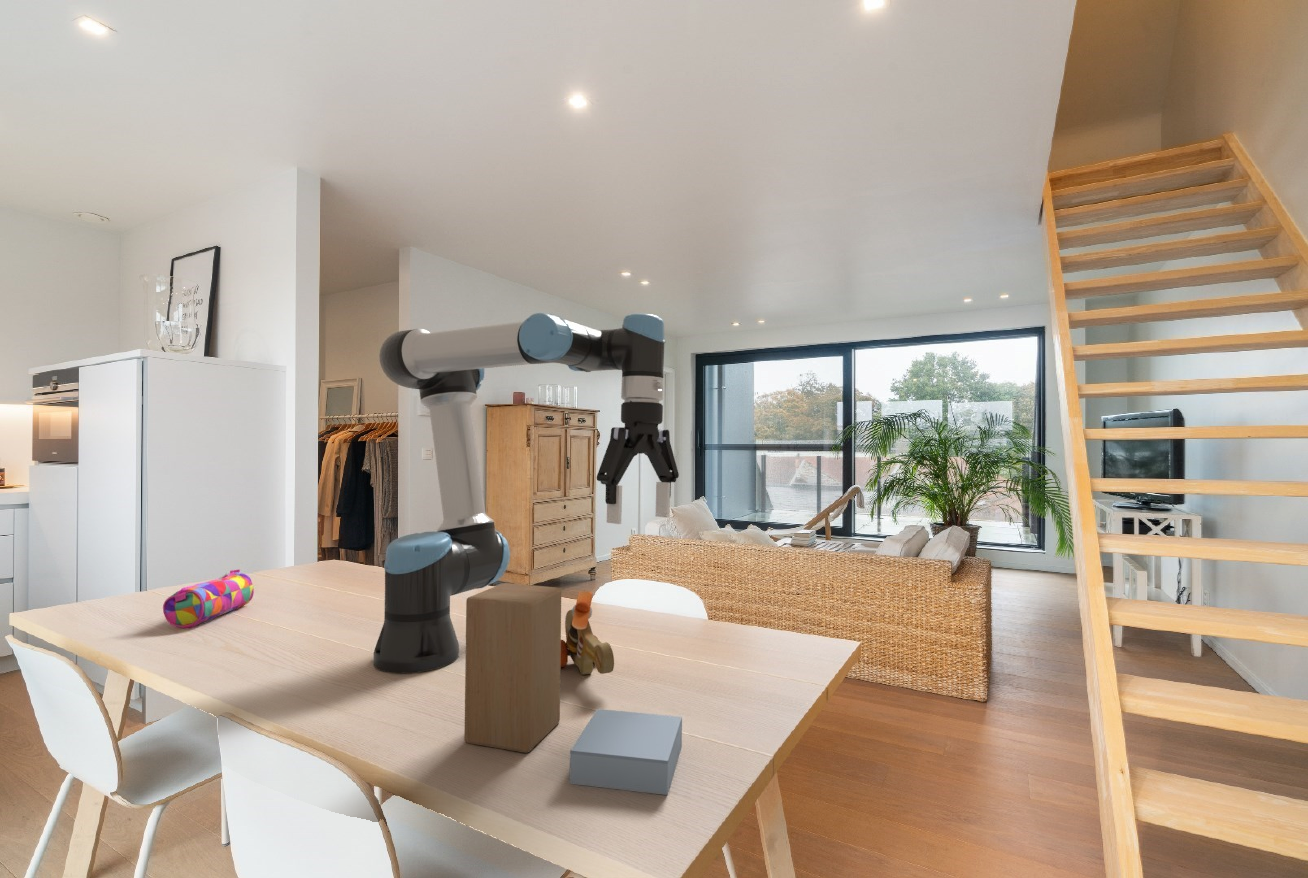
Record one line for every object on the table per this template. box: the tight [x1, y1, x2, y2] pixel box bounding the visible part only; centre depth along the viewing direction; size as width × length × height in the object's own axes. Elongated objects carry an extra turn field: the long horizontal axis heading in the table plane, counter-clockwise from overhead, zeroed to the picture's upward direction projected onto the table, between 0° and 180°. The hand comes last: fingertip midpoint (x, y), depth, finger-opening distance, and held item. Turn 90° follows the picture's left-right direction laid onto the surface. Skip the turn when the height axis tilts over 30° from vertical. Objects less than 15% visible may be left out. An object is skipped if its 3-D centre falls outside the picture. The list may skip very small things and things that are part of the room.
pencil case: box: [162, 569, 255, 629], centre depth 144 cm, size 22×9×9 cm, turn 8°
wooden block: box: [463, 582, 562, 754], centre depth 87 cm, size 10×10×20 cm
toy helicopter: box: [560, 590, 615, 675], centre depth 109 cm, size 8×21×14 cm, turn 26°
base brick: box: [569, 708, 683, 796], centre depth 79 cm, size 12×12×4 cm
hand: (639, 520), depth 110 cm, fingers open, 13 cm apart
